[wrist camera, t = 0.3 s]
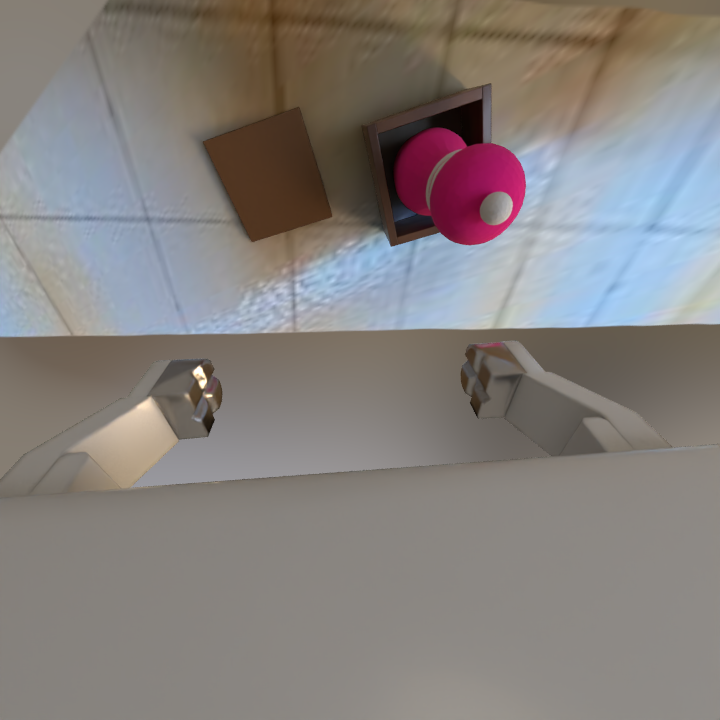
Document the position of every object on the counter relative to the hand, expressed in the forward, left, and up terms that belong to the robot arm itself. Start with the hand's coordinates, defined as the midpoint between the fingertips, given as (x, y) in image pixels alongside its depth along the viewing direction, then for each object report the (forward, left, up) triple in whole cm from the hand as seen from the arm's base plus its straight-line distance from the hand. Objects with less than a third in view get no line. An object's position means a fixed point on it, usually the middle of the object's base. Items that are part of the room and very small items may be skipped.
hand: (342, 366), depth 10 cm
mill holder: (-2, +9, -30) cm, 32 cm away
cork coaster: (-1, -7, -30) cm, 31 cm away
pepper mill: (-2, +9, -31) cm, 32 cm away
